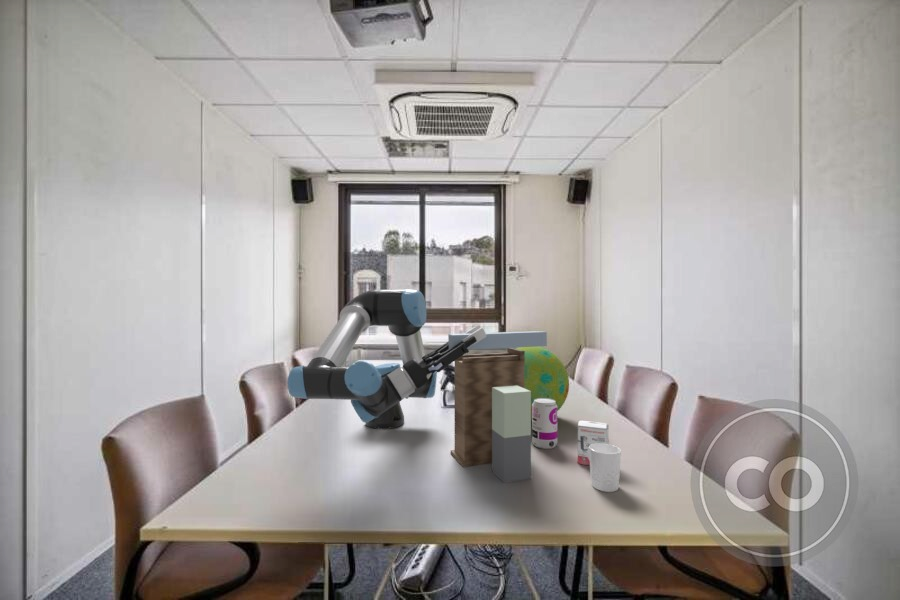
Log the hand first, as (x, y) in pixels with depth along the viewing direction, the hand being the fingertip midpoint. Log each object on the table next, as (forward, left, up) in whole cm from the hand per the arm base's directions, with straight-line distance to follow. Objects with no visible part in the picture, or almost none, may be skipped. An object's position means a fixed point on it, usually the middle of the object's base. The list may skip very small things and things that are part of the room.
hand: (480, 331), depth 114 cm
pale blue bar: (-1, +5, -5) cm, 7 cm away
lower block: (-1, +9, -40) cm, 41 cm away
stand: (-16, +5, -40) cm, 44 cm away
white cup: (+7, +32, -41) cm, 52 cm away
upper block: (-1, +9, -28) cm, 30 cm away
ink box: (-8, +35, -41) cm, 54 cm away
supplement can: (-24, +25, -41) cm, 53 cm away
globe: (-54, +28, -41) cm, 73 cm away
